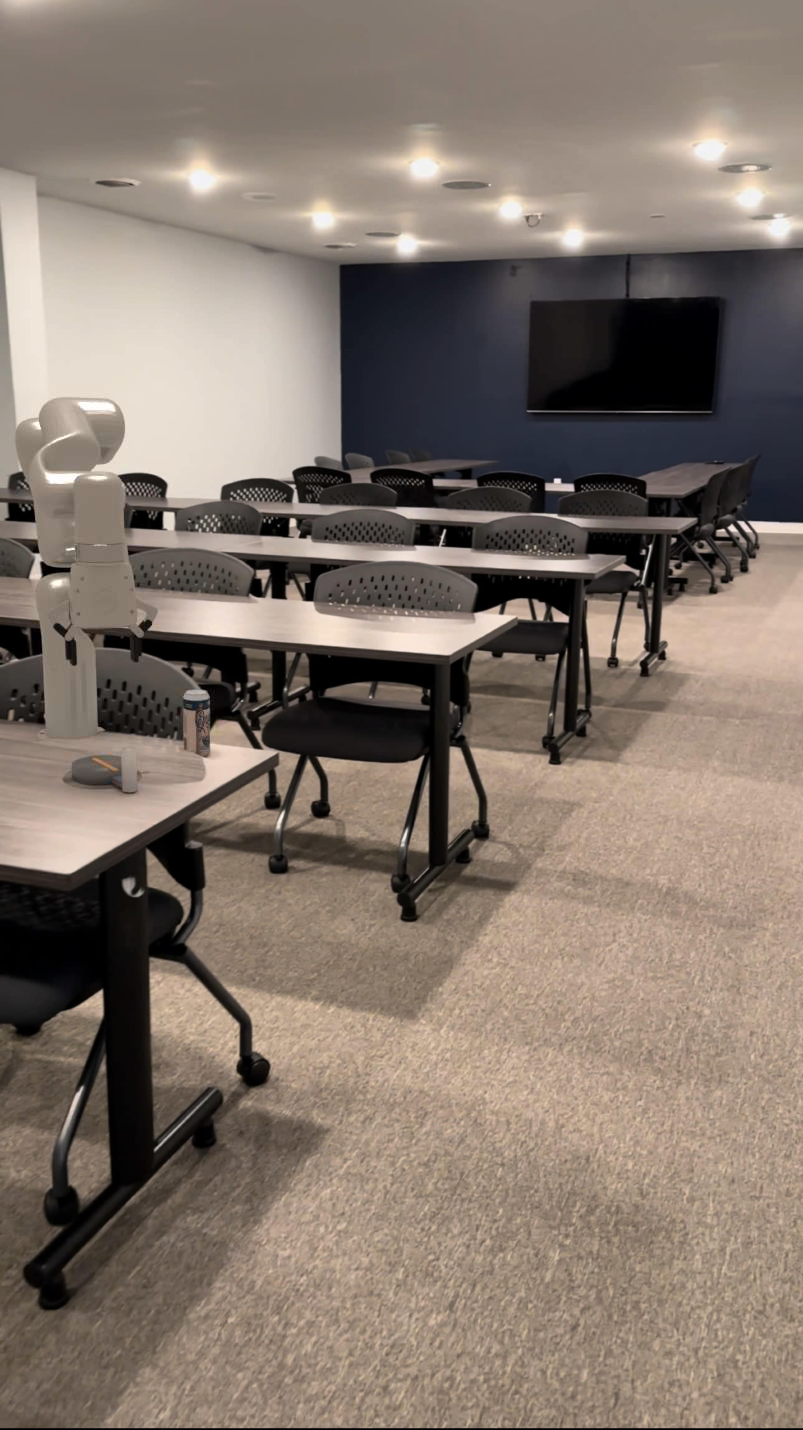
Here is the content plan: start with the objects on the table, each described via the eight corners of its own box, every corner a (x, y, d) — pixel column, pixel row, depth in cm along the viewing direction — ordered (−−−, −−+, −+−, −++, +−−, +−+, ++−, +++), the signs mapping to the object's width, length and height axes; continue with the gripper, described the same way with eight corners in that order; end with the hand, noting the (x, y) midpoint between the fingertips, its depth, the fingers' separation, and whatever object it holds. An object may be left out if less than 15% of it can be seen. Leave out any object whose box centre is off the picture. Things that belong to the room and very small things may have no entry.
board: (37, 776, 209) (37, 769, 208) (127, 760, 219) (127, 753, 219) (91, 808, 194) (91, 800, 194) (185, 789, 205) (184, 781, 204)
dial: (61, 772, 206) (59, 732, 204) (115, 762, 212) (114, 724, 210) (105, 797, 194) (103, 755, 193) (160, 786, 201) (159, 745, 199)
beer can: (204, 759, 221) (204, 696, 218) (179, 757, 222) (179, 693, 219) (213, 752, 226) (213, 689, 223) (189, 750, 227) (188, 687, 224)
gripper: (46, 557, 183) (51, 669, 187) (160, 555, 190) (163, 663, 193) (40, 553, 190) (45, 661, 193) (150, 551, 196) (153, 656, 200)
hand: (104, 662), depth 193 cm, fingers open, 9 cm apart
